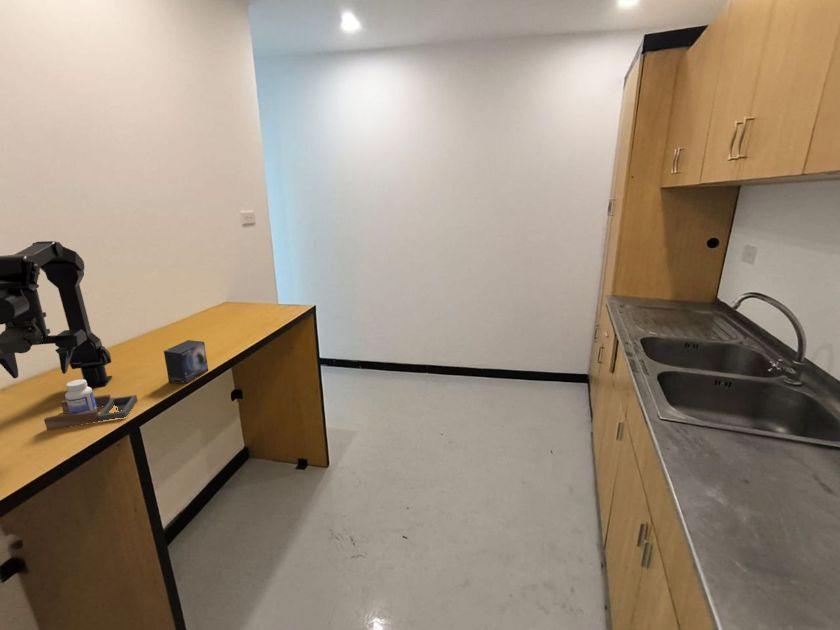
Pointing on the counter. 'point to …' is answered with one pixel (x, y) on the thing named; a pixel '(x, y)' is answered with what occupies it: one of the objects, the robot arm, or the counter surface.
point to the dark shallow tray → (121, 403)
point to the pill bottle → (80, 397)
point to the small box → (186, 361)
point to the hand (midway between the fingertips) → (40, 375)
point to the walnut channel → (76, 415)
